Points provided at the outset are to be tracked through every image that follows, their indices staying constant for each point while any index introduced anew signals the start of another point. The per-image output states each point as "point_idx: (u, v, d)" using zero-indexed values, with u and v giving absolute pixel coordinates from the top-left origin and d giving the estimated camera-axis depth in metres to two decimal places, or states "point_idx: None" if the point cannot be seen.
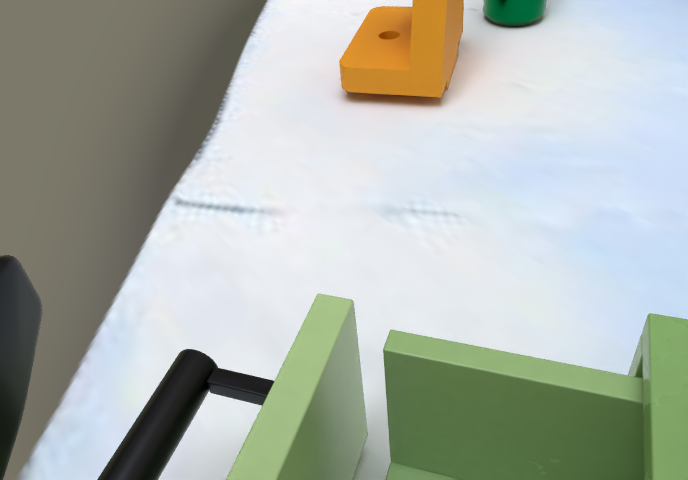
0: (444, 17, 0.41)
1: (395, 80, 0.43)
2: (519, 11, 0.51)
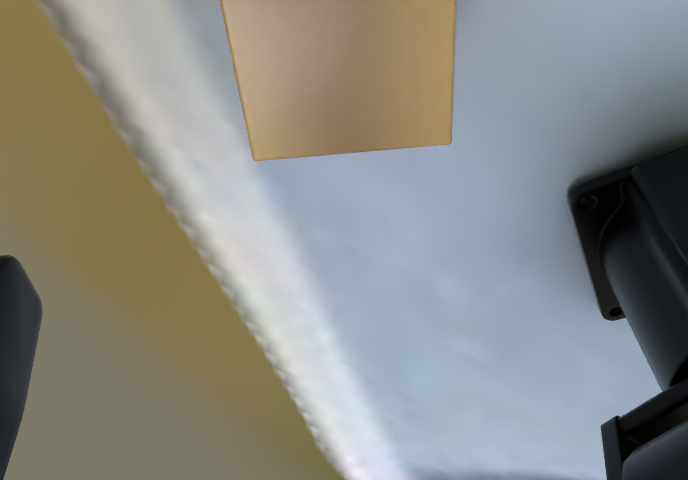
0: None
1: None
2: None
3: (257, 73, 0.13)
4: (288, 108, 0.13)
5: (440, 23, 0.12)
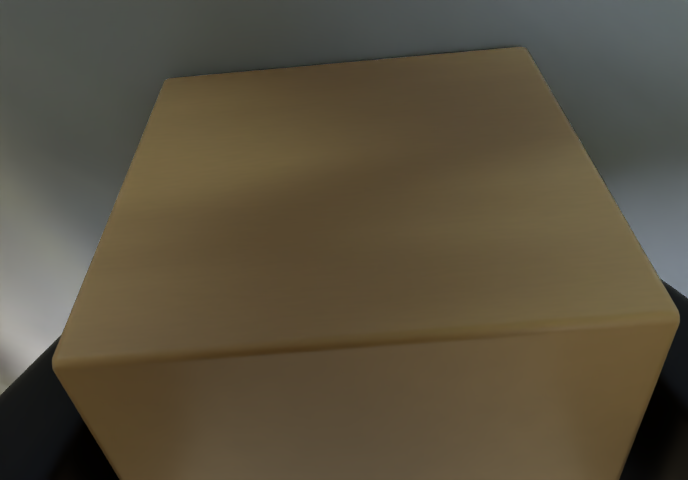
0: None
1: None
2: None
3: None
4: None
5: (599, 450, 0.05)
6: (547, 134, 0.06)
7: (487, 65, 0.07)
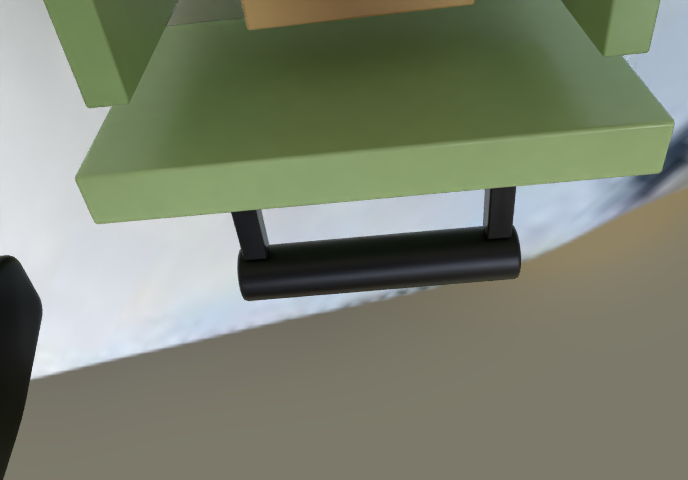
0: None
1: None
2: None
3: None
4: None
5: None
6: None
7: None
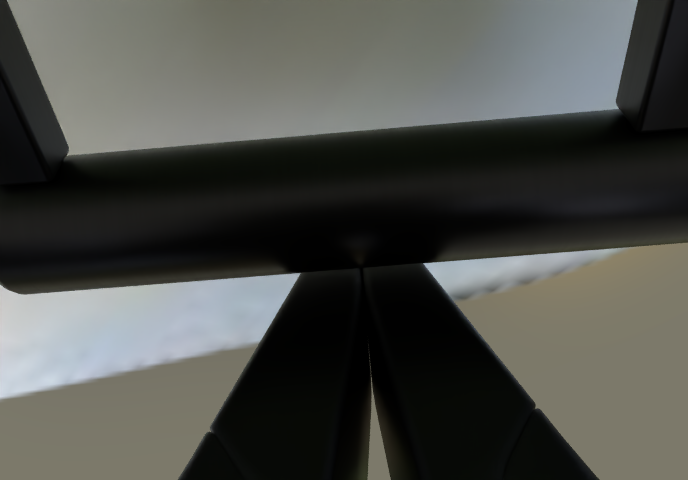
0: None
1: None
2: None
3: None
4: None
5: None
6: None
7: None
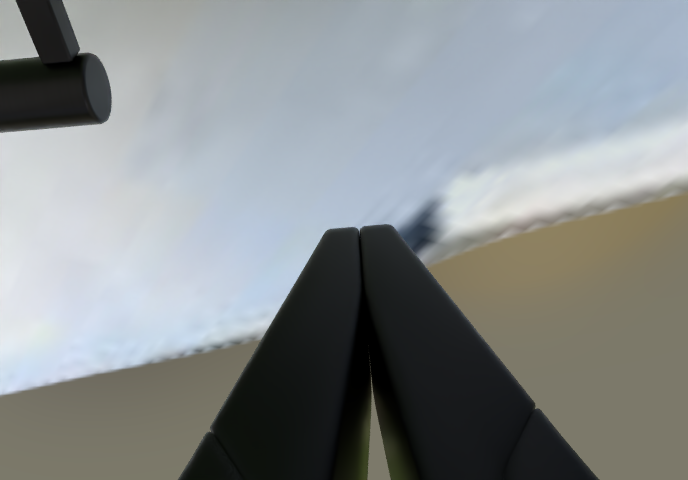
0: None
1: None
2: None
3: None
4: None
5: None
6: None
7: None
